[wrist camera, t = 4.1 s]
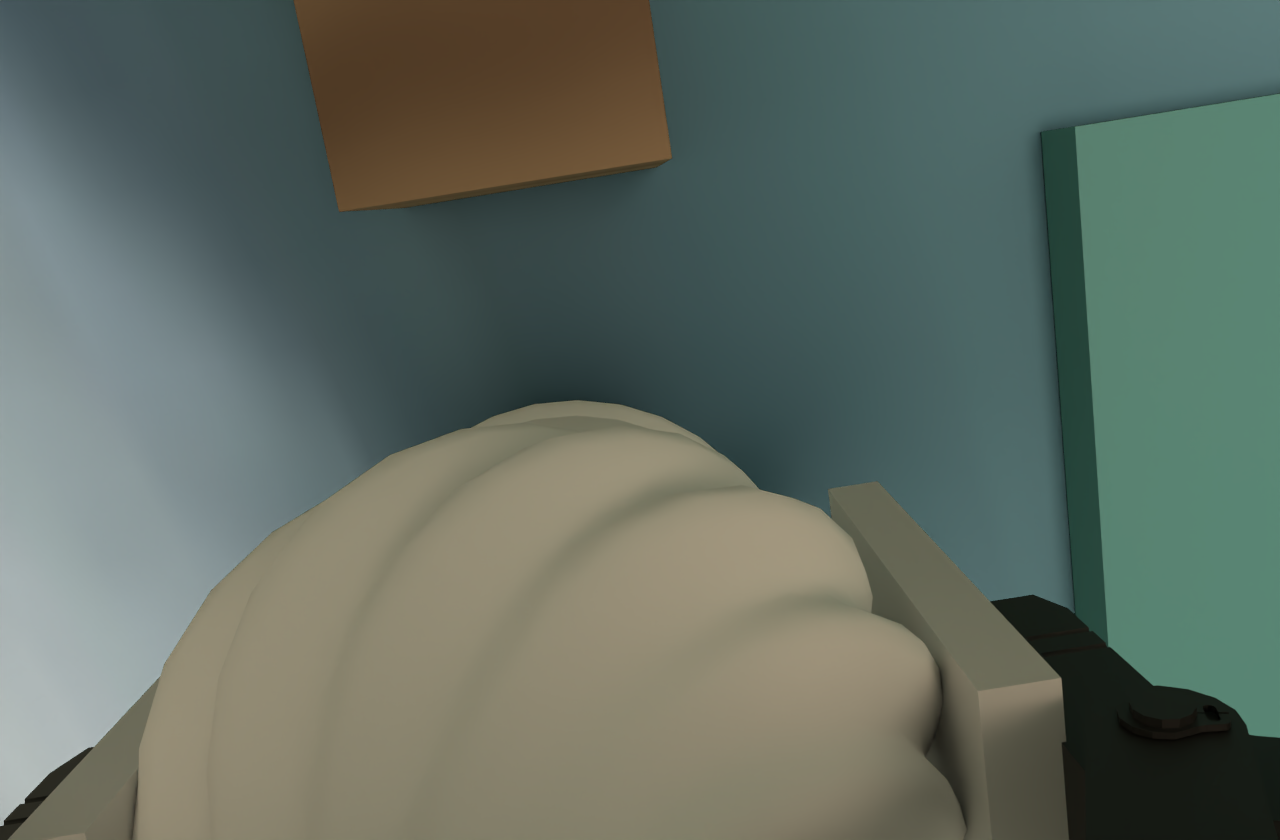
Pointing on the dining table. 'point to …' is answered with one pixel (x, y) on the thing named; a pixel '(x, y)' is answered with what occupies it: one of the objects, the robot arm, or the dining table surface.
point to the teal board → (1174, 391)
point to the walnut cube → (480, 95)
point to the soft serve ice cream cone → (548, 658)
